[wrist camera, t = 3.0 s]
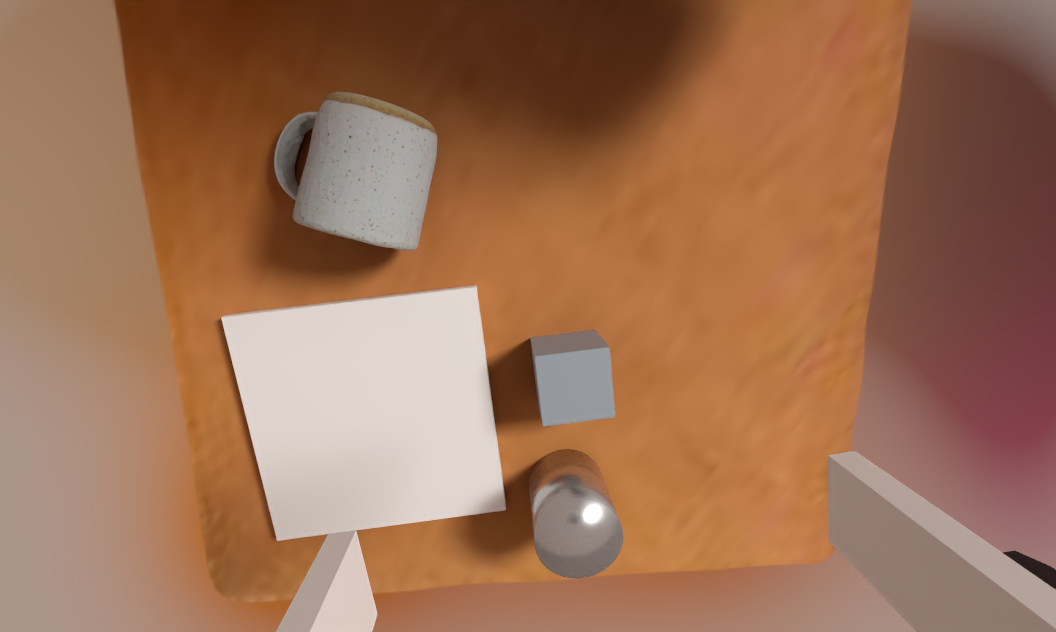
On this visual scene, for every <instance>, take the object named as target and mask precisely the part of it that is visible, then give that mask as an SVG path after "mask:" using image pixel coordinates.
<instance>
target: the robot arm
mask: <svg viewBox="0 0 1056 632" xmlns="http://www.w3.org/2000/svg"><path fill="white" fill-rule="evenodd" d="M828 513H829V542H830V543H831V544H832V545H833V546H834V547H835V548H836V549H837V550H838V551H839V552H840V553H841V554H842V555H843V556H844V557H845V558H846V559H847V561H848V562H849V563H850V564H851V565H852V566H853V567H854V568H855V569H856V570H857V571H858V572H859V573H860V574H861V575H862V576H863V577H864V578H865V579H866V580H867V581H868V582H869V583H870V584H871V585H872V586H873V587H874V588H875V589H876V590H877V591H878V592H879V593H880V594H881V595H882V596H883V597H884V598H885V599H886V601H888V603H889V604H890V605H891V606H892V607H893V608H894V609H895V610H896V611H897V612H898V613H899V614H900V615H901V616H902V617H903V618H904V619H905V620H906V621H907V622H908V623H909V624H910V625H911V626H912V627H913V628H914V629H915V630H916V631H917V632H1056V570H1055V569H1054V568H1052V567H1050V566H1048V565H1046V564H1044V563H1041V562H1039V561H1037V560H1035V559H1033V558H1030V557H1028V556H1026V555H1023V554H1021V553H1019V552H1017V551H1010V552H1004V553H1002V552H1000V551H999V550H997V549H996V548H995V547H993V546H992V545H990V544H989V543H987V542H986V541H984V540H983V539H982V538H980V537H979V536H977V535H976V534H974V533H973V532H971V531H970V530H969V529H967V528H966V527H964V526H963V525H961V524H960V523H958V522H957V521H955V520H954V519H953V518H951V517H950V516H948V515H947V514H945V513H944V512H942V511H941V510H940V509H938V508H937V507H935V506H934V505H932V504H931V503H930V502H928V501H927V500H925V499H924V498H922V497H921V496H919V495H918V494H917V493H915V492H914V491H912V490H911V489H909V488H908V487H906V486H905V485H904V484H902V483H901V482H899V481H898V480H896V479H895V478H893V477H892V476H890V475H889V474H888V473H886V472H885V471H883V470H882V469H880V468H879V467H877V466H876V465H875V464H873V463H872V462H870V461H869V460H867V459H866V458H864V457H863V456H862V455H860V454H859V453H857V452H856V451H853V452H846V453H840V454H833V455H828ZM376 617H377V611H376V607H375V603H374V599H373V595H372V591H371V587H370V583H369V579H368V575H367V571H366V567H365V563H364V559H363V556H362V552H361V548H360V544H359V540H358V536H357V532H356V530H354V531H348V532H342V533H335V534H329V535H328V536H327V537H326V539H325V541H324V543H323V545H322V547H321V549H320V551H319V552H318V554H317V556H316V558H315V560H314V562H313V564H312V566H311V567H310V569H309V571H308V573H307V575H306V577H305V579H304V580H303V582H302V584H301V586H300V588H299V590H298V592H297V594H296V595H295V597H294V599H293V601H292V603H291V605H290V607H289V609H288V611H287V612H286V614H285V616H284V618H283V620H282V622H281V623H280V625H279V628H278V629H277V631H276V632H372V630H373V627H374V624H375V621H376Z"/></svg>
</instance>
